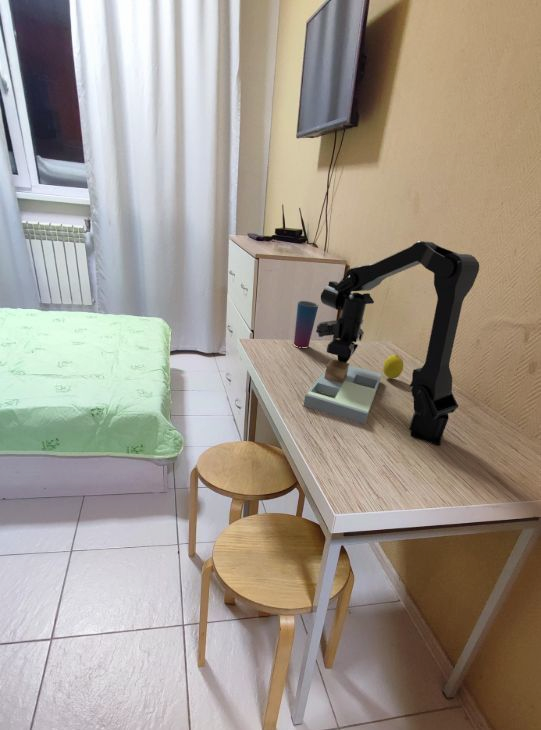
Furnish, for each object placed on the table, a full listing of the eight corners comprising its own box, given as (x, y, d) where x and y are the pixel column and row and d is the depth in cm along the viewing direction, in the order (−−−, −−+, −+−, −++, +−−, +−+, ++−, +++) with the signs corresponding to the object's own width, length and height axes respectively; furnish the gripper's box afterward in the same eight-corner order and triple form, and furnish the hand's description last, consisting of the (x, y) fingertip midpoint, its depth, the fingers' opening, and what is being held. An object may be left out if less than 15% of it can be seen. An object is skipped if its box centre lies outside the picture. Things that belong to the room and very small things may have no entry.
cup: (287, 342, 131) (294, 300, 125) (304, 342, 134) (311, 300, 128) (297, 350, 126) (304, 306, 120) (314, 349, 129) (322, 306, 123)
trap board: (379, 381, 111) (382, 372, 110) (364, 424, 88) (367, 413, 86) (330, 368, 115) (332, 359, 114) (303, 405, 92) (305, 394, 91)
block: (346, 376, 105) (349, 363, 103) (342, 383, 101) (345, 369, 99) (329, 371, 107) (331, 358, 105) (324, 378, 102) (326, 364, 101)
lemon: (396, 376, 116) (403, 352, 113) (400, 384, 111) (408, 359, 108) (379, 373, 116) (385, 349, 113) (382, 381, 111) (389, 356, 108)
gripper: (331, 302, 111) (321, 351, 117) (312, 317, 95) (302, 372, 101) (369, 310, 107) (357, 360, 114) (356, 327, 91) (343, 384, 98)
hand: (340, 368), depth 107 cm, fingers closed
